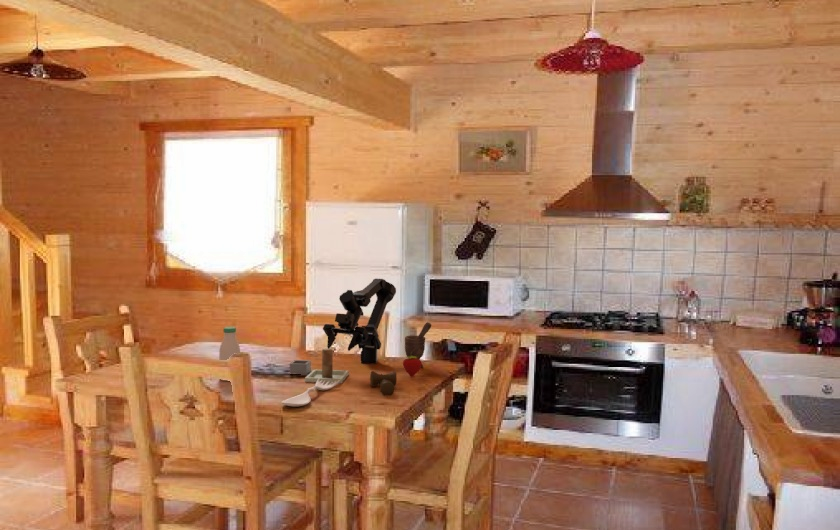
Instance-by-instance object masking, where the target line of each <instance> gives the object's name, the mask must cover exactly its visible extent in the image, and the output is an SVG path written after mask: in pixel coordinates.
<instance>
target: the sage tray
mask: <svg viewBox="0 0 840 530" xmlns="http://www.w3.org/2000/svg"><path fill="white" fill-rule="evenodd" d="M349 372H350V370H340V369H339V370H338V369H337V370H336V369H333V378H322V369H312V370H311V372H310V373H309V374H308V375H305V377H304V383H315V384H316V382H317V380H318V379H319V378H320V381H321V380H323V381H322V383H323V382H324V381H325V384H326V383H327V382H329V384H330V383H331V382H333V383H334V382H335V381H336V382H337V381H339V380H340V383H339V384H340V385H341V384H343V383H344V382H345V380H346V378H348V376H349V375H350V373H349ZM320 381H319V382H320ZM322 383H321V384H322ZM339 384H338V385H339Z"/></svg>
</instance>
